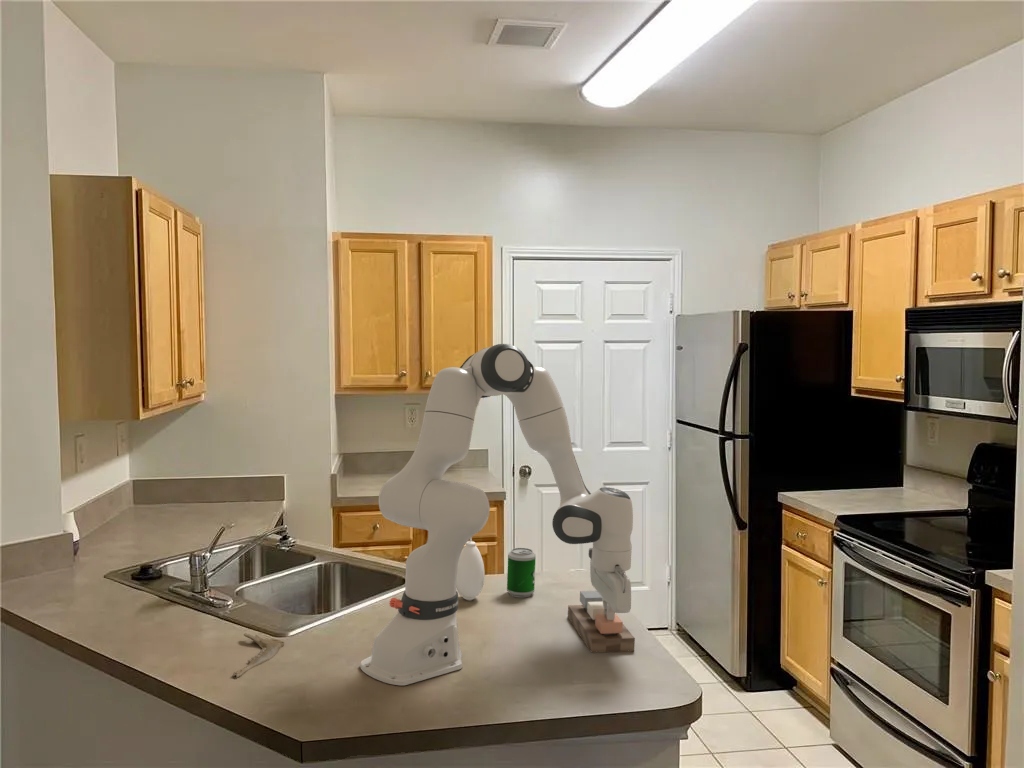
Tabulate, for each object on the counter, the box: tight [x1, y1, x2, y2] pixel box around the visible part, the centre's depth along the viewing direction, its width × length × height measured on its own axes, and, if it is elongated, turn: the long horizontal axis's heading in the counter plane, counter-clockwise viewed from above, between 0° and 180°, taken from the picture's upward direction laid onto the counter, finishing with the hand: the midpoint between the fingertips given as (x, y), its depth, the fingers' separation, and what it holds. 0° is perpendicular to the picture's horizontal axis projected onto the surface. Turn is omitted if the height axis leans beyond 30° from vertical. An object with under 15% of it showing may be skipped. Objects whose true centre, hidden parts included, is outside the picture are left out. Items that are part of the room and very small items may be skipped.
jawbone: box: [232, 632, 285, 679], centre depth 169 cm, size 9×20×2 cm, turn 13°
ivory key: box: [587, 601, 604, 623], centre depth 188 cm, size 5×5×6 cm
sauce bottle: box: [456, 536, 486, 601], centre depth 208 cm, size 8×8×18 cm
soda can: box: [506, 547, 537, 598], centre depth 214 cm, size 8×8×12 cm
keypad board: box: [567, 604, 636, 654], centre depth 188 cm, size 22×10×3 cm, turn 10°
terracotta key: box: [595, 613, 624, 635], centre depth 181 cm, size 5×5×6 cm
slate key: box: [579, 590, 602, 613], centre depth 195 cm, size 5×5×6 cm
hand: (608, 618), depth 181 cm, fingers closed, pressing on terracotta key
